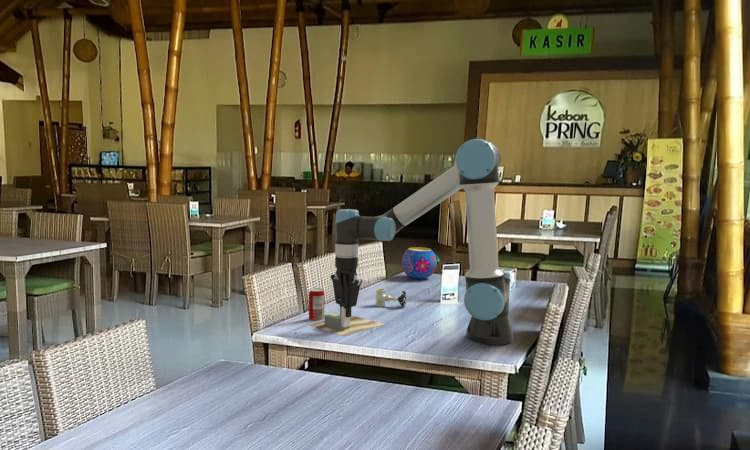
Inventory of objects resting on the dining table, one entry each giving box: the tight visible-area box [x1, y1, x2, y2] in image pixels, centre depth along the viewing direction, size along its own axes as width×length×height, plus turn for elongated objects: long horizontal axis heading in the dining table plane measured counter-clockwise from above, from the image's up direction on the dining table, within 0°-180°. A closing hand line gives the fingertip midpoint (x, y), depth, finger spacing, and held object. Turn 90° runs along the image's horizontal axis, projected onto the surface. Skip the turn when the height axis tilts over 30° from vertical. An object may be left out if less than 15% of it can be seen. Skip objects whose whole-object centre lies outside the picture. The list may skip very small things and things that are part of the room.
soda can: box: [308, 287, 326, 322], centre depth 204 cm, size 6×6×12 cm
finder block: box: [324, 312, 349, 331], centre depth 193 cm, size 7×5×4 cm
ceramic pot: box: [401, 247, 440, 280], centre depth 286 cm, size 18×18×15 cm
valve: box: [375, 288, 407, 308], centre depth 229 cm, size 7×7×12 cm
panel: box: [307, 314, 386, 337], centre depth 197 cm, size 18×20×1 cm
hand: (345, 326), depth 190 cm, fingers closed
